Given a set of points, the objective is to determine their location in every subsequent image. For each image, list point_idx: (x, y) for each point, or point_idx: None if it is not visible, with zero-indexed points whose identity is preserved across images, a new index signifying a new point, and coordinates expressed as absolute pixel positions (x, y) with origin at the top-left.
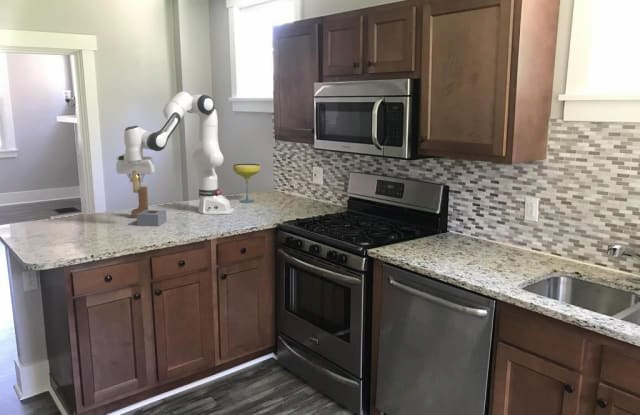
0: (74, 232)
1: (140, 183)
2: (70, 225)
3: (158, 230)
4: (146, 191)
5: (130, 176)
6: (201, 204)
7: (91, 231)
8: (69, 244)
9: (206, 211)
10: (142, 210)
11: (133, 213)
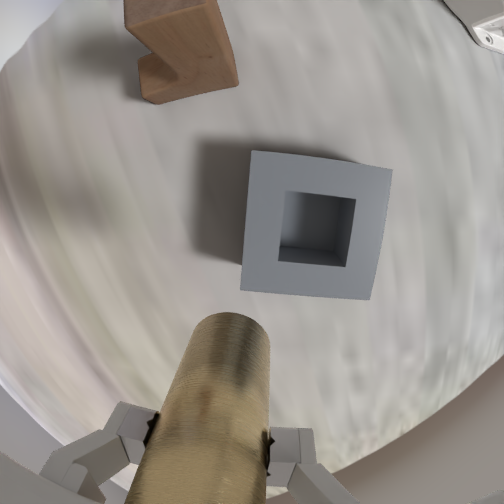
0: (72, 360)
1: (267, 408)
2: (9, 266)
3: (363, 341)
4: (214, 8)
5: (94, 461)
6: (480, 2)
7: (110, 354)
8: None
9: (484, 29)
10: (205, 80)
11: (158, 98)
